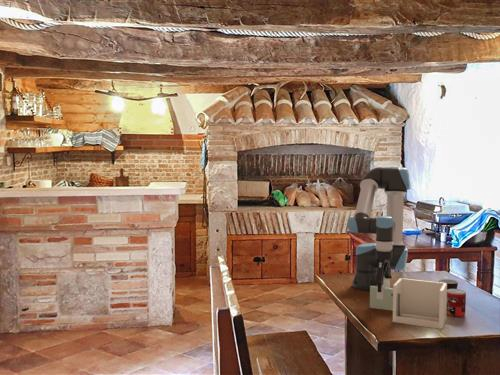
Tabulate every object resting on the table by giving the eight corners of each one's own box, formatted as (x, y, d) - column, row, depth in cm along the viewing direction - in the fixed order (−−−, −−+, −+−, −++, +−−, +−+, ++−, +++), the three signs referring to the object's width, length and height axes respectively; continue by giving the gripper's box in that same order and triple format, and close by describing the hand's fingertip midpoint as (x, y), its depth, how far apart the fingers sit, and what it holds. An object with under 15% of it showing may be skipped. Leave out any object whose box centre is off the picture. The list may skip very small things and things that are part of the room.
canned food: (443, 312, 237) (443, 288, 236) (460, 312, 237) (460, 288, 237) (450, 318, 229) (451, 293, 228) (468, 317, 230) (469, 293, 229)
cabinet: (392, 321, 224) (393, 285, 223) (399, 312, 237) (400, 278, 236) (441, 329, 215) (442, 290, 214) (446, 319, 228) (447, 283, 226)
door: (369, 308, 244) (369, 287, 243) (370, 306, 247) (371, 285, 246) (395, 311, 239) (395, 290, 238) (396, 310, 241) (397, 288, 240)
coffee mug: (459, 304, 249) (459, 283, 248) (439, 303, 251) (440, 283, 250) (454, 297, 260) (455, 278, 260) (436, 297, 262) (436, 277, 261)
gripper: (386, 255, 228) (385, 303, 229) (397, 246, 250) (397, 290, 252) (369, 253, 232) (368, 300, 233) (382, 245, 254) (381, 288, 255)
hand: (383, 295), depth 242 cm, fingers open, 13 cm apart
